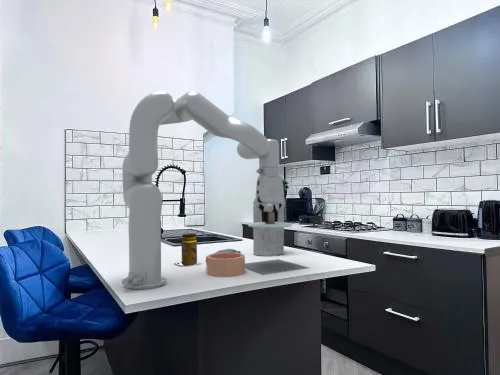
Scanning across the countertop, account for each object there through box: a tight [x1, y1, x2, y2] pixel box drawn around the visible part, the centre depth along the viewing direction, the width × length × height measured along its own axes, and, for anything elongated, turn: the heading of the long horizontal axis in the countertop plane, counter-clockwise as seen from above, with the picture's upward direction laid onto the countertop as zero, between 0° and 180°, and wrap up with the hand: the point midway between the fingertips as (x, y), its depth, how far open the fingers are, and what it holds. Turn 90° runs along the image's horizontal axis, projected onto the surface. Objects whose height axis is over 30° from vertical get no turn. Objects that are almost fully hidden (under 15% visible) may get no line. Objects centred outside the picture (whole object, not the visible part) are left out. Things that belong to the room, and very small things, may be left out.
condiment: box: [173, 232, 201, 267], centre depth 140 cm, size 7×8×12 cm
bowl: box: [205, 252, 246, 277], centre depth 123 cm, size 13×13×6 cm
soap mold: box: [205, 248, 242, 263], centre depth 153 cm, size 10×20×4 cm, turn 166°
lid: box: [248, 212, 293, 228], centre depth 131 cm, size 16×16×5 cm
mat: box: [245, 258, 310, 276], centre depth 131 cm, size 20×20×1 cm
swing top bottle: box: [252, 194, 285, 257], centre depth 160 cm, size 13×17×40 cm
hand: (269, 221), depth 131 cm, fingers closed on lid, 3 cm apart
